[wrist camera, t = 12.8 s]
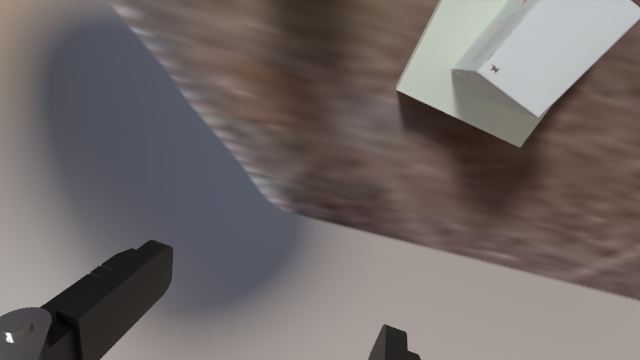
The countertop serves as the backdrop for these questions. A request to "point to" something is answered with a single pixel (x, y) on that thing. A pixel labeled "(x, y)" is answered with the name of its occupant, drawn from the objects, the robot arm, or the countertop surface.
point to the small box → (542, 49)
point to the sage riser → (449, 88)
